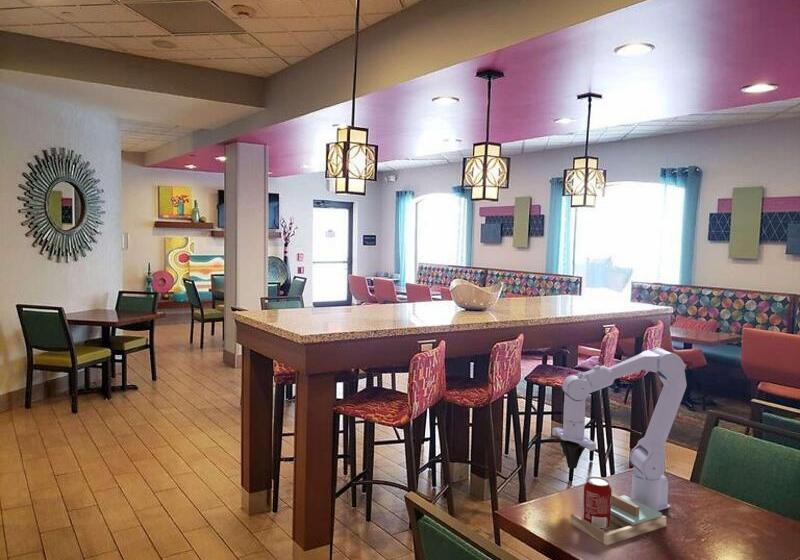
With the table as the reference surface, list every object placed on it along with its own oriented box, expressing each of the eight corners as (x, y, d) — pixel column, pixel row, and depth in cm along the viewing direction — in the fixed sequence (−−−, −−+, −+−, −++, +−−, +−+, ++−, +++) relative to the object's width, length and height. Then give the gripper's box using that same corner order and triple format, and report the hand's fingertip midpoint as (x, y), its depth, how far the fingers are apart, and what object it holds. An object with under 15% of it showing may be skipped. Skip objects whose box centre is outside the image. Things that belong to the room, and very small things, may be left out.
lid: (624, 497, 159) (624, 486, 159) (661, 516, 149) (662, 503, 149) (596, 505, 154) (596, 493, 154) (632, 525, 144) (633, 512, 144)
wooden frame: (624, 505, 161) (625, 496, 161) (666, 526, 149) (666, 516, 149) (567, 521, 151) (567, 512, 150) (606, 545, 139) (607, 535, 139)
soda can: (609, 534, 144) (612, 487, 144) (581, 529, 147) (583, 483, 146) (609, 522, 151) (611, 477, 150) (582, 517, 153) (584, 473, 152)
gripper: (544, 414, 164) (543, 461, 165) (583, 429, 151) (581, 479, 152) (563, 411, 167) (561, 457, 168) (602, 425, 155) (600, 475, 156)
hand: (572, 467), depth 160 cm, fingers closed
